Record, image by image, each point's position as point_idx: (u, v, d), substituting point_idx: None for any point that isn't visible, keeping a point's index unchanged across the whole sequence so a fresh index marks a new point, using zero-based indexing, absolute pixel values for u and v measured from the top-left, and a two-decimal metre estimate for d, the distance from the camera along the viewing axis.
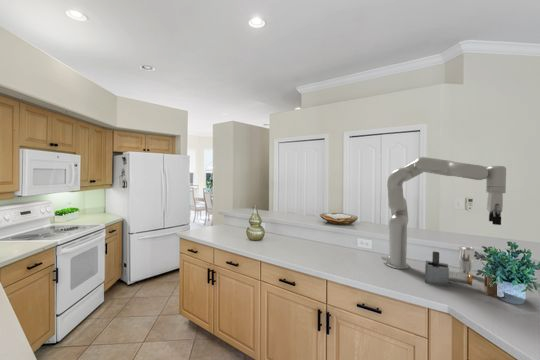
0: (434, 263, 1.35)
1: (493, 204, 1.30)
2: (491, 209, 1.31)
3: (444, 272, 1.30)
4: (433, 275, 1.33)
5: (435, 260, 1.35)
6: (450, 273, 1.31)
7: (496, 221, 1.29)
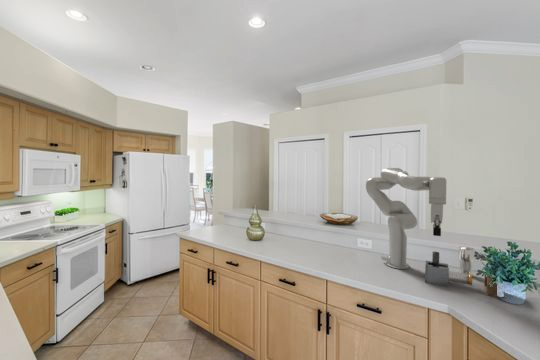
0: (434, 263, 1.35)
1: (433, 215, 1.31)
2: (432, 220, 1.32)
3: (444, 272, 1.30)
4: (433, 275, 1.33)
5: (435, 260, 1.35)
6: (450, 273, 1.31)
7: (436, 232, 1.30)
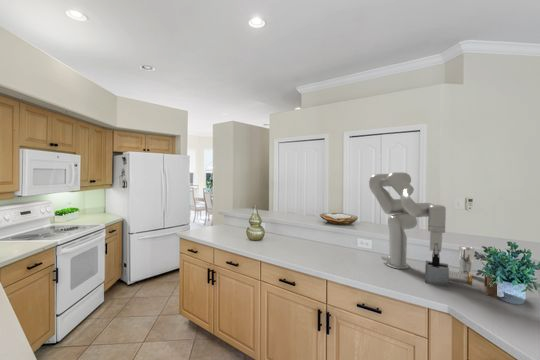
0: None
1: (432, 244, 1.32)
2: (431, 248, 1.33)
3: (444, 272, 1.30)
4: (433, 275, 1.33)
5: None
6: (450, 273, 1.31)
7: (435, 261, 1.34)
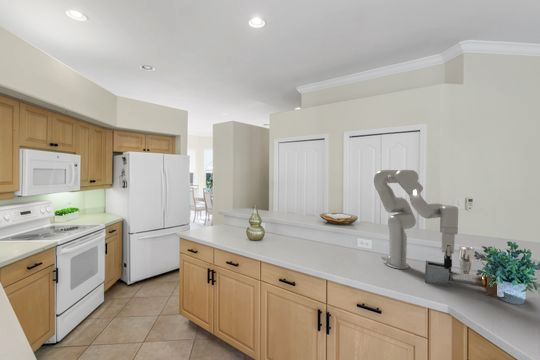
0: None
1: (445, 245, 1.29)
2: (443, 250, 1.30)
3: (444, 272, 1.30)
4: (433, 275, 1.33)
5: None
6: (463, 275, 1.28)
7: (447, 263, 1.31)
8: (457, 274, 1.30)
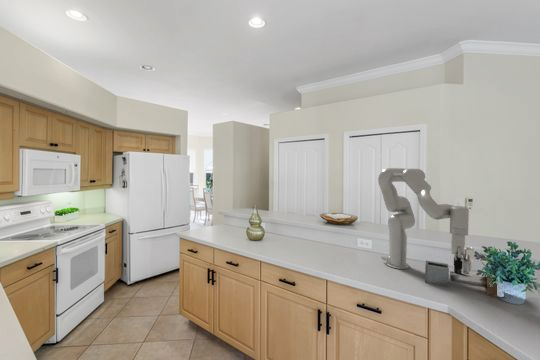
0: None
1: (455, 246, 1.27)
2: (453, 251, 1.28)
3: (444, 272, 1.30)
4: (433, 275, 1.33)
5: None
6: (474, 277, 1.26)
7: (457, 265, 1.28)
8: (468, 276, 1.28)
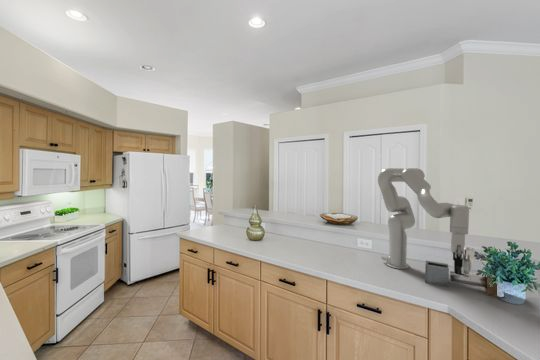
0: (456, 267, 1.30)
1: (455, 245, 1.27)
2: (453, 250, 1.28)
3: (444, 272, 1.30)
4: (433, 275, 1.33)
5: None
6: (474, 277, 1.26)
7: (457, 263, 1.26)
8: (468, 276, 1.28)
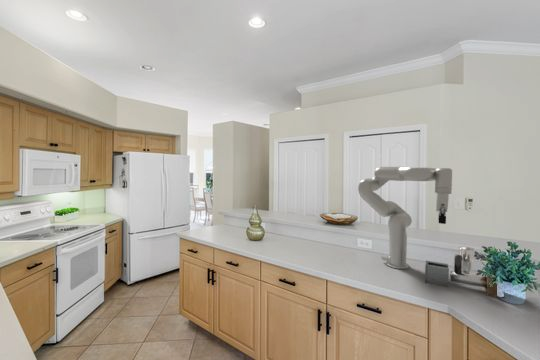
0: (456, 267, 1.30)
1: (439, 204, 1.38)
2: (437, 209, 1.39)
3: (444, 272, 1.30)
4: (433, 275, 1.33)
5: (457, 264, 1.30)
6: (474, 277, 1.26)
7: (441, 220, 1.37)
8: (468, 276, 1.28)
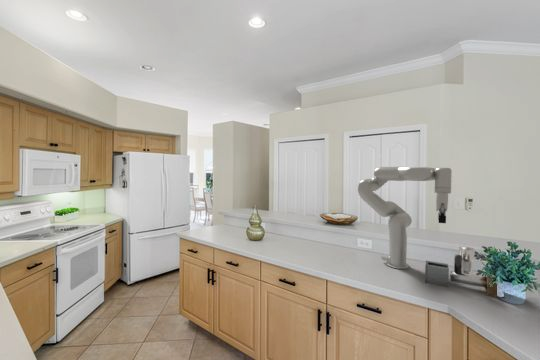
0: (456, 267, 1.30)
1: (439, 204, 1.39)
2: (437, 208, 1.39)
3: (444, 272, 1.30)
4: (433, 275, 1.33)
5: (457, 264, 1.30)
6: (474, 277, 1.26)
7: (441, 220, 1.37)
8: (468, 276, 1.28)
